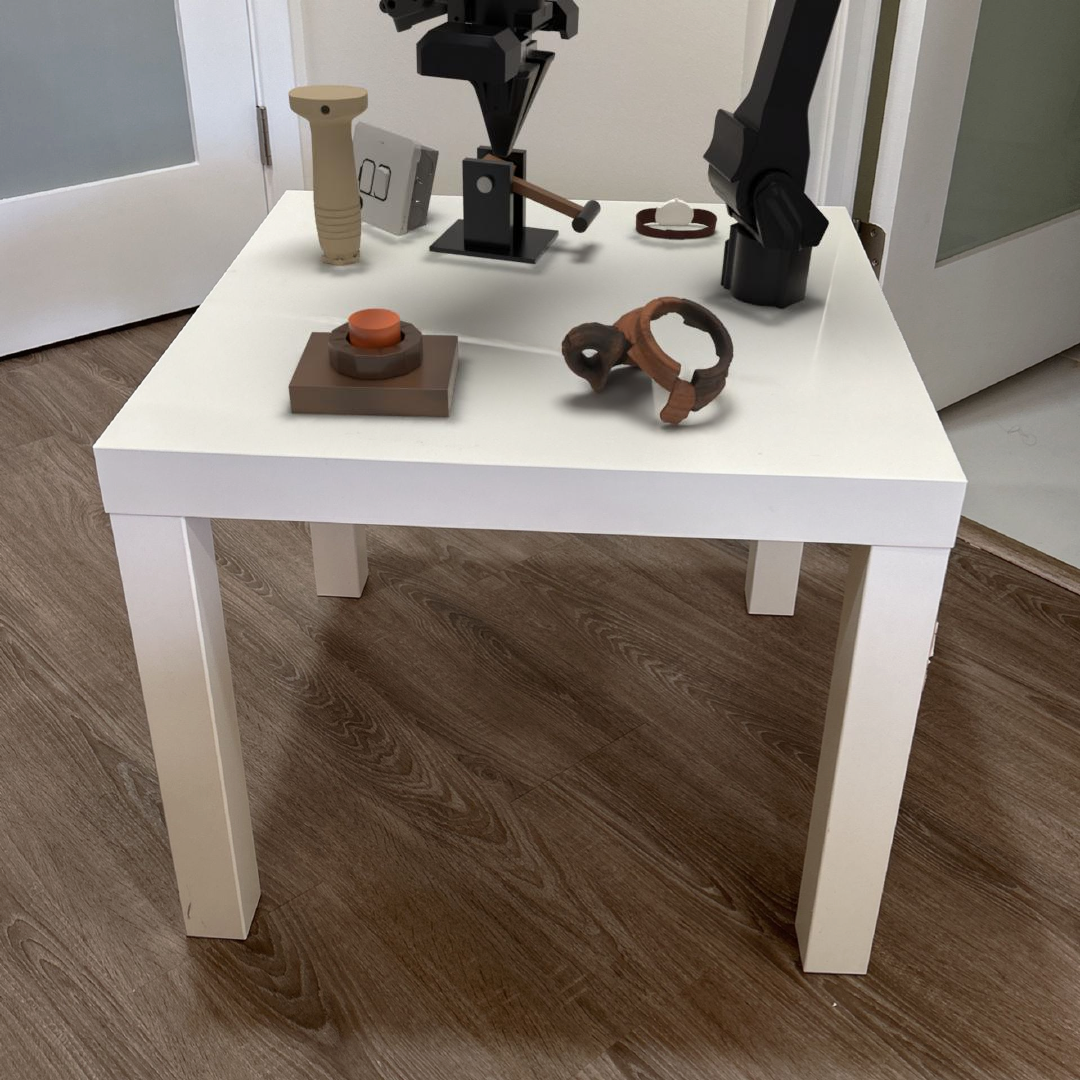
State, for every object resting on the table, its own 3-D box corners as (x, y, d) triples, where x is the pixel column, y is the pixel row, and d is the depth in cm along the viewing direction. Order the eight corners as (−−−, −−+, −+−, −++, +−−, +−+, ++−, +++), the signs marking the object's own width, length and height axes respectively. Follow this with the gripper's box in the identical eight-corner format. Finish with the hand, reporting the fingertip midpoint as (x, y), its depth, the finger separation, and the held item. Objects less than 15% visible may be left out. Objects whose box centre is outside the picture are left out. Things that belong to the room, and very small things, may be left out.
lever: (595, 222, 108) (605, 198, 106) (582, 240, 104) (591, 216, 102) (485, 173, 108) (493, 148, 107) (467, 189, 104) (475, 164, 103)
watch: (711, 231, 115) (715, 194, 113) (718, 248, 111) (722, 210, 109) (632, 230, 115) (634, 193, 113) (636, 247, 111) (639, 209, 109)
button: (403, 331, 86) (402, 308, 85) (397, 352, 83) (396, 329, 82) (354, 330, 86) (352, 307, 85) (346, 351, 83) (344, 328, 82)
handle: (375, 277, 104) (364, 100, 95) (302, 276, 103) (284, 99, 95) (380, 257, 108) (370, 85, 99) (309, 256, 107) (293, 84, 99)
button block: (458, 362, 90) (457, 312, 88) (448, 418, 82) (447, 365, 80) (314, 358, 90) (309, 309, 88) (291, 414, 82) (285, 361, 80)
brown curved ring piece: (675, 362, 91) (728, 291, 85) (701, 463, 87) (759, 396, 80) (533, 341, 87) (577, 265, 80) (552, 448, 82) (601, 375, 76)
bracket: (558, 242, 112) (561, 148, 107) (534, 272, 105) (536, 173, 100) (458, 230, 114) (456, 137, 109) (429, 259, 107) (425, 161, 102)
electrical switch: (339, 219, 116) (340, 121, 111) (382, 213, 119) (384, 117, 114) (397, 245, 110) (400, 143, 106) (440, 238, 114) (445, 138, 109)
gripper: (443, -99, 89) (446, 114, 98) (336, -71, 74) (350, 177, 83) (585, -88, 87) (575, 129, 95) (504, -58, 72) (500, 197, 81)
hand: (501, 155), depth 89 cm, fingers closed
